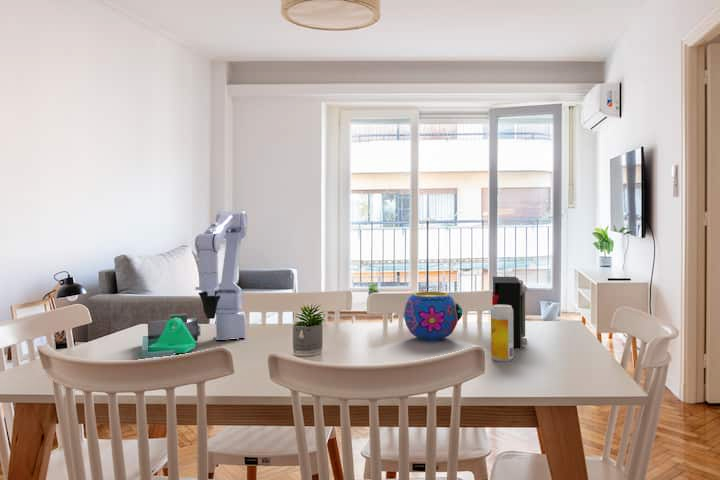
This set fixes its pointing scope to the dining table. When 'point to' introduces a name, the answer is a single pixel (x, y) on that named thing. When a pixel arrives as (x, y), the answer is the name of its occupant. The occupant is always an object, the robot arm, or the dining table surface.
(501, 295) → the electrical component
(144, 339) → the pump bracket
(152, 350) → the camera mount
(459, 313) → the ceramic pot
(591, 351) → the dining table surface
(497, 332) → the beer can
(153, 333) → the motor housing
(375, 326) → the dining table surface
